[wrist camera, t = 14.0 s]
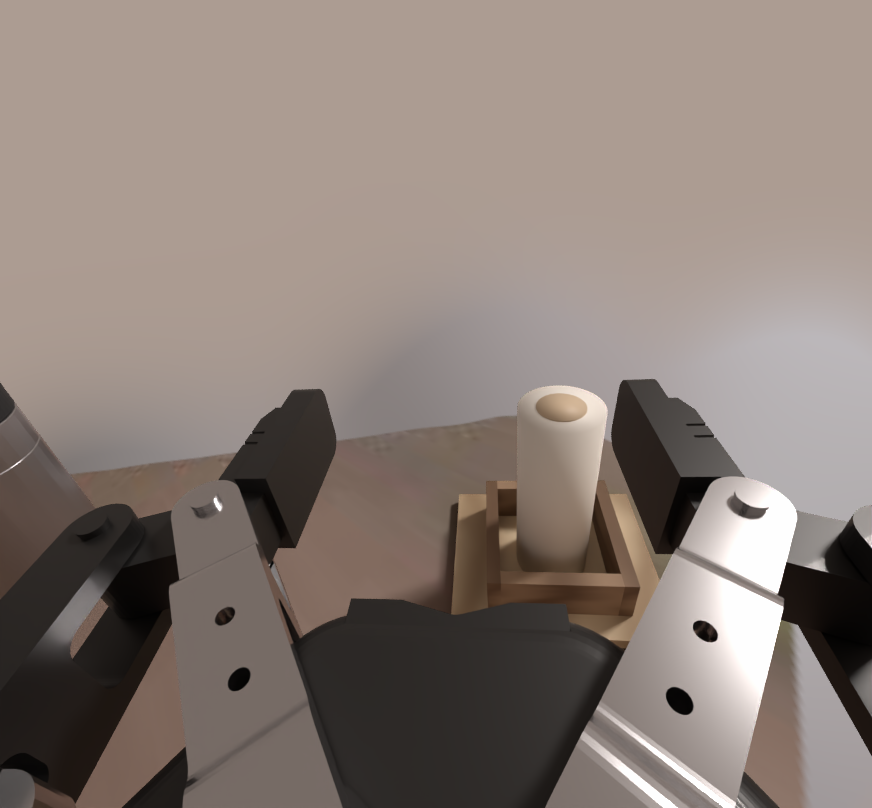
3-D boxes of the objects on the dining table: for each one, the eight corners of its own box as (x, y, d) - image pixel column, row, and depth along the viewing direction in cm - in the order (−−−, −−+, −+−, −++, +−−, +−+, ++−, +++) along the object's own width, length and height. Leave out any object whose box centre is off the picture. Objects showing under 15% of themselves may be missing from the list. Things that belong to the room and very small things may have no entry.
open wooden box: (451, 640, 31) (445, 605, 29) (460, 501, 43) (456, 468, 41) (680, 650, 29) (695, 614, 27) (624, 501, 41) (631, 466, 39)
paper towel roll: (518, 585, 34) (520, 433, 25) (514, 529, 38) (514, 385, 30) (592, 586, 33) (618, 431, 25) (578, 529, 38) (596, 382, 29)
